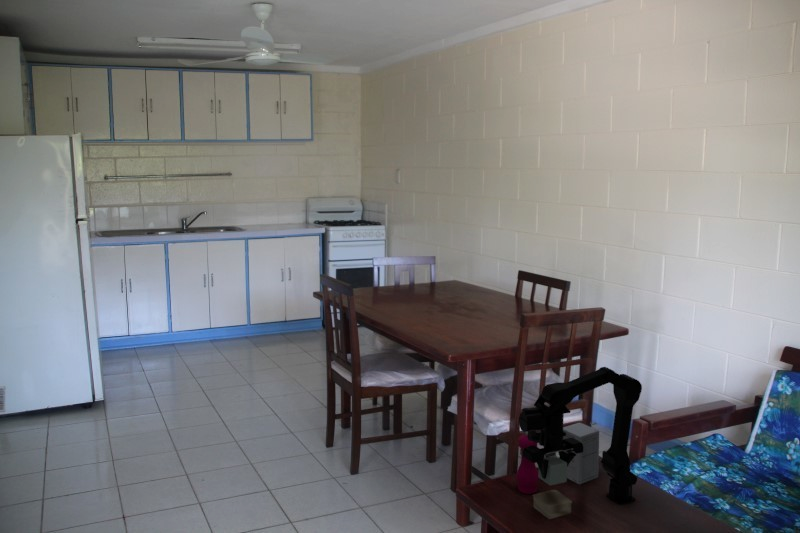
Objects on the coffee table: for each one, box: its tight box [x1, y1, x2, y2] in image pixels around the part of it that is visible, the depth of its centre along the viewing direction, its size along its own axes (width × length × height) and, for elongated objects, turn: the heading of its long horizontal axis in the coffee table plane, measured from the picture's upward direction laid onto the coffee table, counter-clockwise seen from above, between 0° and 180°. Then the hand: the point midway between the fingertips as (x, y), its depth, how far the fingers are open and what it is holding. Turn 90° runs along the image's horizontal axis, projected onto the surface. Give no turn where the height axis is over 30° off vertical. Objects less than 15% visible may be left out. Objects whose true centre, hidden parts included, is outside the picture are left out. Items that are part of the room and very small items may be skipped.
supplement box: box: [563, 422, 600, 485], centre depth 226 cm, size 10×9×17 cm
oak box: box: [532, 489, 573, 520], centre depth 205 cm, size 8×8×4 cm
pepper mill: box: [515, 432, 540, 495], centre depth 217 cm, size 7×7×20 cm
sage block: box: [537, 454, 568, 487], centre depth 203 cm, size 6×6×6 cm
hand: (552, 476), depth 203 cm, fingers closed on sage block, 6 cm apart
